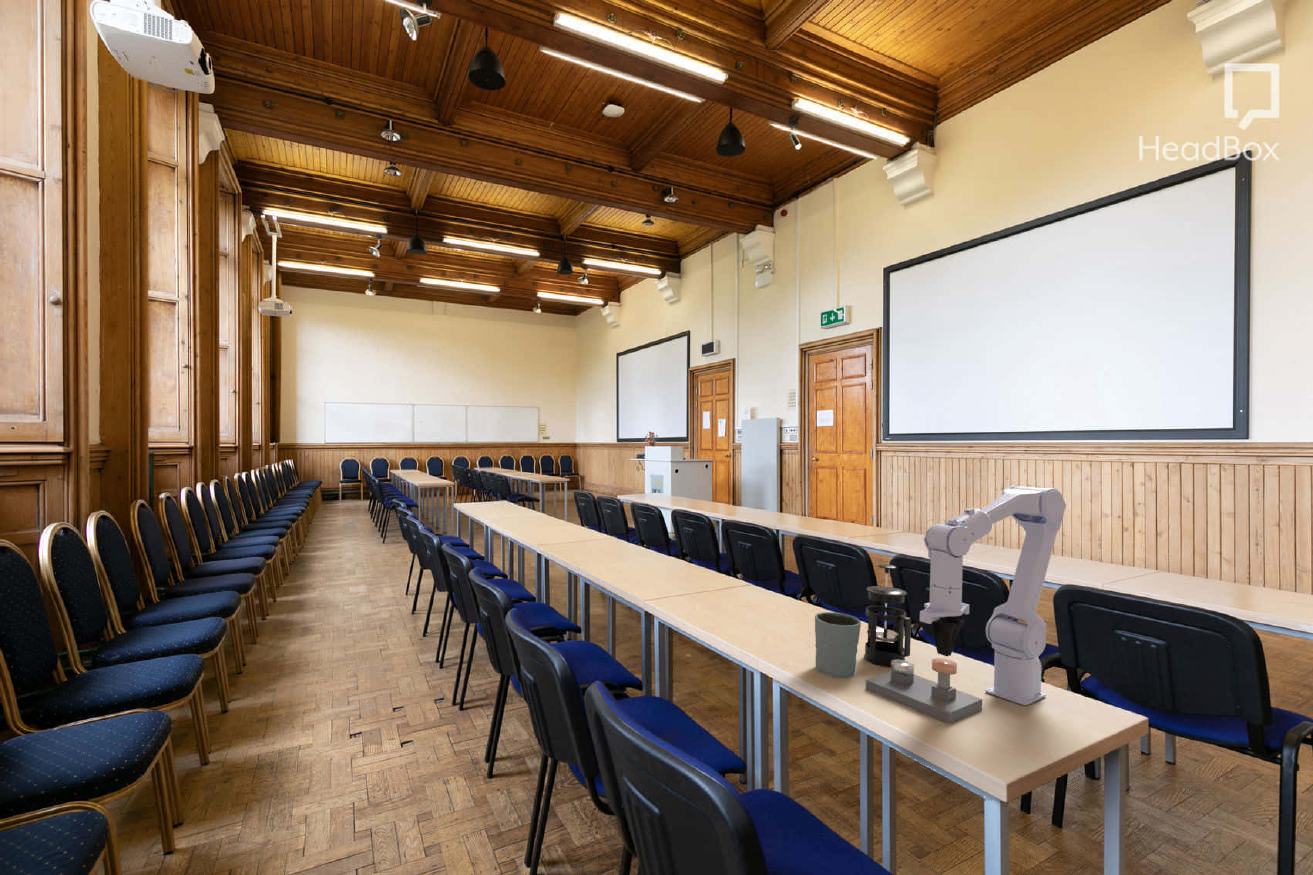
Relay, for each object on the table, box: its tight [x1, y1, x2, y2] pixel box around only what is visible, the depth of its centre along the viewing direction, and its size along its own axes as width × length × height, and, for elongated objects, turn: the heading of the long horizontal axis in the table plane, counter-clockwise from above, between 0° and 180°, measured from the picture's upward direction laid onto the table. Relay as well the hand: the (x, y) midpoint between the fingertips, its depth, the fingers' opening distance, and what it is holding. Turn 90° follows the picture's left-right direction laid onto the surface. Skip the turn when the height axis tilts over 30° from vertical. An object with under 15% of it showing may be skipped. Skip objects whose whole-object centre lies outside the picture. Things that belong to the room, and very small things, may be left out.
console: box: [865, 670, 983, 725], centre depth 120 cm, size 12×18×4 cm, turn 35°
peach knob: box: [931, 657, 958, 690], centre depth 117 cm, size 4×4×6 cm
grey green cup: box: [814, 611, 862, 679], centre depth 134 cm, size 10×10×12 cm
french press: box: [863, 563, 912, 668], centre depth 142 cm, size 12×9×23 cm
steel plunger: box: [890, 659, 915, 675], centre depth 124 cm, size 4×4×6 cm
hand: (944, 654), depth 117 cm, fingers closed
